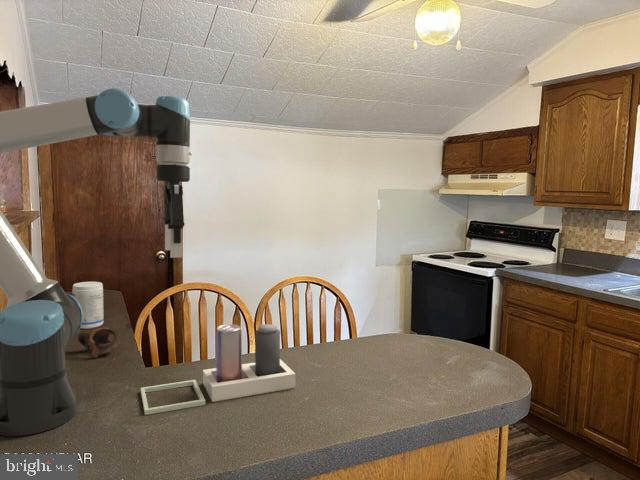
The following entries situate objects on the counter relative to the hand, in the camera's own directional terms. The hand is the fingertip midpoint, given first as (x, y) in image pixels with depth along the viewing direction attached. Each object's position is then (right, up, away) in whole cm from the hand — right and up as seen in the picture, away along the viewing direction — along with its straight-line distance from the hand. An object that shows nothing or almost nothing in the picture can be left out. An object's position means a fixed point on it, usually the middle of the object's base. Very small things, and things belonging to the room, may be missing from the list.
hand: (173, 253), depth 114 cm
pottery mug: (-29, -30, +23) cm, 47 cm away
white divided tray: (+18, -32, +1) cm, 37 cm away
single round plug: (+22, -32, +3) cm, 39 cm away
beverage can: (+14, -33, -1) cm, 35 cm away
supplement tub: (-45, -27, +50) cm, 72 cm away
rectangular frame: (+2, -33, -6) cm, 33 cm away
